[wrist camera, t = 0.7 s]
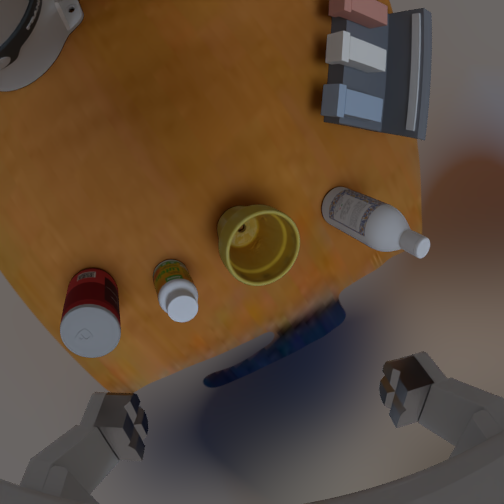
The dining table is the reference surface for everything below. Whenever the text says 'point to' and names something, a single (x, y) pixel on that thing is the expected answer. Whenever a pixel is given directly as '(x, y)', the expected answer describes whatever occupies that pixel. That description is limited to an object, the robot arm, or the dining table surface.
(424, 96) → the console
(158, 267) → the supplement bottle
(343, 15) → the terracotta key
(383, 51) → the ivory key
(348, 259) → the dining table surface
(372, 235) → the bath foam
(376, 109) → the slate-blue key
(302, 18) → the dining table surface
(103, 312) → the canned food
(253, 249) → the plant pot
